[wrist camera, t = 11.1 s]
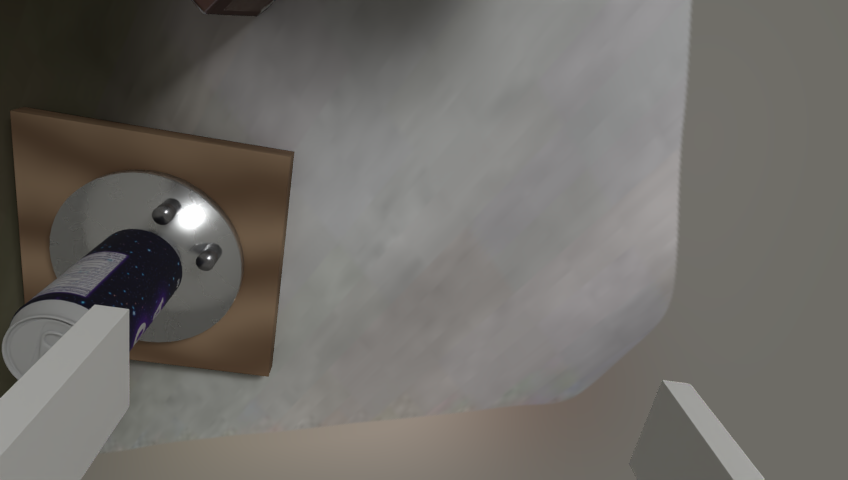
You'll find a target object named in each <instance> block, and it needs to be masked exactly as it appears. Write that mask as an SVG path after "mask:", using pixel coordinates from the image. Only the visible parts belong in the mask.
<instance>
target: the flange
mask: <svg viewBox="0 0 848 480" xmlns="http://www.w3.org/2000/svg"><path fill="white" fill-rule="evenodd" d="M125 229H141V230H146V231H149V232H152V233H154V234H156V235H158V236H160V237H162V238H163V239H164V240H166V241H167V242H168V243H169V244H170V245H171V246H172V247H173V248H174V250H175V251H176V253H177V254H178V256H179V258H180V261H181V265H182V280H181V283H180V285H179V287H178V289H177V290H176V292H175V293H174V294H173V295H172V297H171V298H170V299H169V301H168V302H167V303H166V305H165V306H164V307H163V309H162V310H161V311H160V312H159V314H158V315H157V316H156V318H155V319H154V320H153V322H152V323H151V324H150V325H149V327H148V328H147V329H146V331H145V332H144V333H143V335H142V336H141V337H140V339H139V340H140V341H146V342H172V341H179V340H183V339H187V338H191V337H193V336H196V335H198V334H200V333H202V332H204V331H206V330H208V329H209V328H211V327H212V326H213V325H215V324H216V323H217V322H218V321H219V320H220V319H221V318H222V317H223V316H224V315H225V314H226V313H227V311H228V310H229V309H230V307H231V306H232V304H233V302H234V300H235V298H236V296H237V294H238V292H239V290H240V287H241V284H242V281H243V274H244V255H243V248H242V245H241V241H240V238H239V236H238V233H237V231H236V229H235V227H234V225H233V224H232V222H231V220H230V219H229V217H228V216H227V214H226V213H225V212H224V211H223V209H222V208H221V207H220V206H219V205H218V204H217V203H216V202H215V201H214V200H213V199H212V198H211V197H210V196H208V195H207V194H206V193H205V192H203V191H202V190H201V189H199V188H197V187H196V186H194V185H193V184H191V183H189V182H187V181H185V180H183V179H181V178H178V177H175V176H173V175H170V174H167V173H162V172H158V171H153V170H143V169H132V170H122V171H116V172H112V173H109V174H105V175H103V176H100V177H98V178H96V179H94V180H92V181H90V182H89V183H87V184H85V185H84V186H82V187H81V188H79V189H78V190H76V191H75V192H74V193H73V194H72V195H71V196H69V197H68V198H67V200H66V201H65V202H64V203H63V205H62V206H61V207H60V209H59V211H58V213H57V214H56V216H55V219H54V222H53V225H52V228H51V233H50V247H49V249H50V257H51V262H52V266H53V269H54V272H55V275H56V277H57V278H58V277H59V276H61V275H62V274H63V273H64V272H65V271H67V270H68V269H69V268H70V267H72V266H73V265H74V264H75V263H77V262H78V261H79V260H80V259H82V258H83V257H84V256H85V255H87V254H88V253H89V252H90V251H91V250H93V249H94V248H95V247H96V246H98V245H99V244H100V243H101V242H103V241H104V240H105V239H106V238H108V237H109V236H110V235H112V234H114V233H116V232H118V231H121V230H125Z"/></svg>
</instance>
